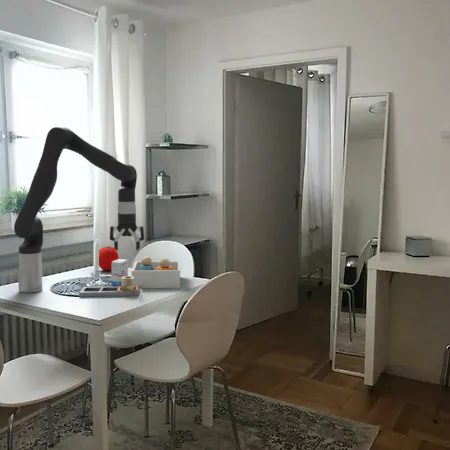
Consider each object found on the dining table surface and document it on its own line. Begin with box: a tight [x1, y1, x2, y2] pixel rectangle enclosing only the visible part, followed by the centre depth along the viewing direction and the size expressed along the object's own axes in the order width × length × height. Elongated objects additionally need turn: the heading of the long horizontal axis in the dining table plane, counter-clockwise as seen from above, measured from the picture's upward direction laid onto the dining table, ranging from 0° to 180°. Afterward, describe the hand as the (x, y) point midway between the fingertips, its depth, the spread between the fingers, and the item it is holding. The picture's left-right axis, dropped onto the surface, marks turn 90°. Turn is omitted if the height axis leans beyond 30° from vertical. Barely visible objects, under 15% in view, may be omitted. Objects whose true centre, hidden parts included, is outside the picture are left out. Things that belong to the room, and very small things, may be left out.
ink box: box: [111, 258, 129, 286], centre depth 237 cm, size 9×5×12 cm, turn 168°
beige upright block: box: [120, 275, 134, 290], centre depth 218 cm, size 5×5×7 cm
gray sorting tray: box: [78, 285, 140, 298], centre depth 218 cm, size 24×10×3 cm, turn 96°
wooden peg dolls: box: [140, 256, 173, 271], centre depth 246 cm, size 18×17×12 cm
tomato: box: [98, 245, 120, 271], centre depth 271 cm, size 12×12×13 cm
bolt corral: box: [131, 260, 181, 289], centre depth 244 cm, size 22×23×8 cm
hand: (127, 250), depth 216 cm, fingers open, 8 cm apart
